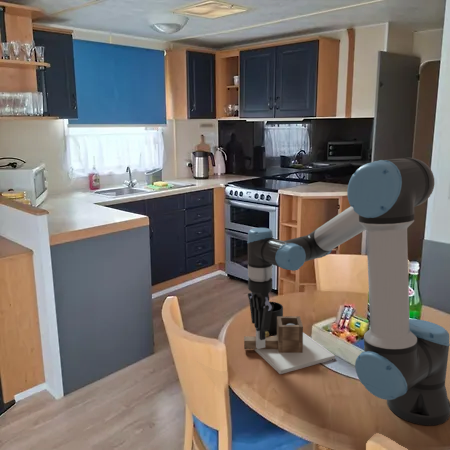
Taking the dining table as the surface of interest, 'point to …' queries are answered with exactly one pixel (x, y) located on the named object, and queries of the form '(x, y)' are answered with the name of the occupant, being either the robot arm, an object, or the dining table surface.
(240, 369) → the dining table surface
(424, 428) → the dining table surface
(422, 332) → the robot arm
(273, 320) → the mug
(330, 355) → the post board
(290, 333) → the brown wooden bracket
